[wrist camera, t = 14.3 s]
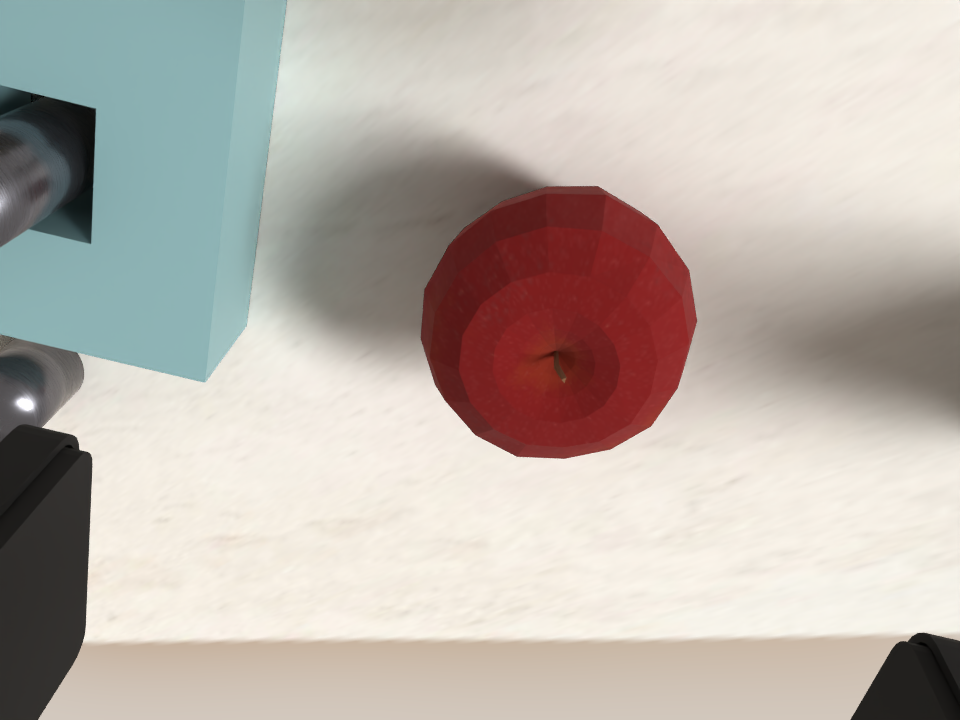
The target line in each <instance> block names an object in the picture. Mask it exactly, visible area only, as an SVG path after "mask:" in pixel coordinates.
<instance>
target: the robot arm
mask: <svg viewBox="0 0 960 720" xmlns="http://www.w3.org/2000/svg"><path fill="white" fill-rule="evenodd" d="M91 484H92V457H91V454H90V453H88V452H85V451H81V450H79V443H78V440H77V438H76V437H75V436H73V435H70V434H66V433H62V432H57V431H53V430H49V429H44V428H40V427H36V426H32V425H27V424H22V425H19V426H17V427H16V428H15V429H13V430H12V431H11V432H10V433H9V434H8V435H7V436H6V437H5V438H4V439H3V440H2V441H1V442H0V720H38V719H39V717H40V715H41V714H42V712H43V710H44V709H45V708H46V706H47V704H48V703H49V701H50V700H51V698H52V696H53V695H54V693H55V692H56V690H57V689H58V687H59V685H60V684H61V682H62V681H63V679H64V678H65V676H66V674H67V673H68V671H69V670H70V668H71V666H72V665H73V663H74V661H75V659H76V658H77V656H78V653H79V651H80V648H81V646H82V643H83V639H84V635H85V628H86V604H87V580H88V556H89V532H90V508H91ZM851 720H960V641H958V640H954V639H949V638H945V637H941V636H936V635H932V634H928V633H917V634H916V635H914V636H912V637H911V638H910V640H909V641H908V642H906V641H905V642H904V641H902V642H899V643H897V644H896V645H895V646H894V647H893V649H892V650H891V652H890V654H889V655H888V657H887V659H886V660H885V662H884V664H883V665H882V667H881V669H880V671H879V672H878V674H877V676H876V677H875V679H874V681H873V682H872V684H871V686H870V688H869V689H868V691H867V693H866V695H865V696H864V698H863V700H862V701H861V703H860V704H859V706H858V708H857V710H856V712H855V713H854V715H853V716H852V718H851Z"/></svg>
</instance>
